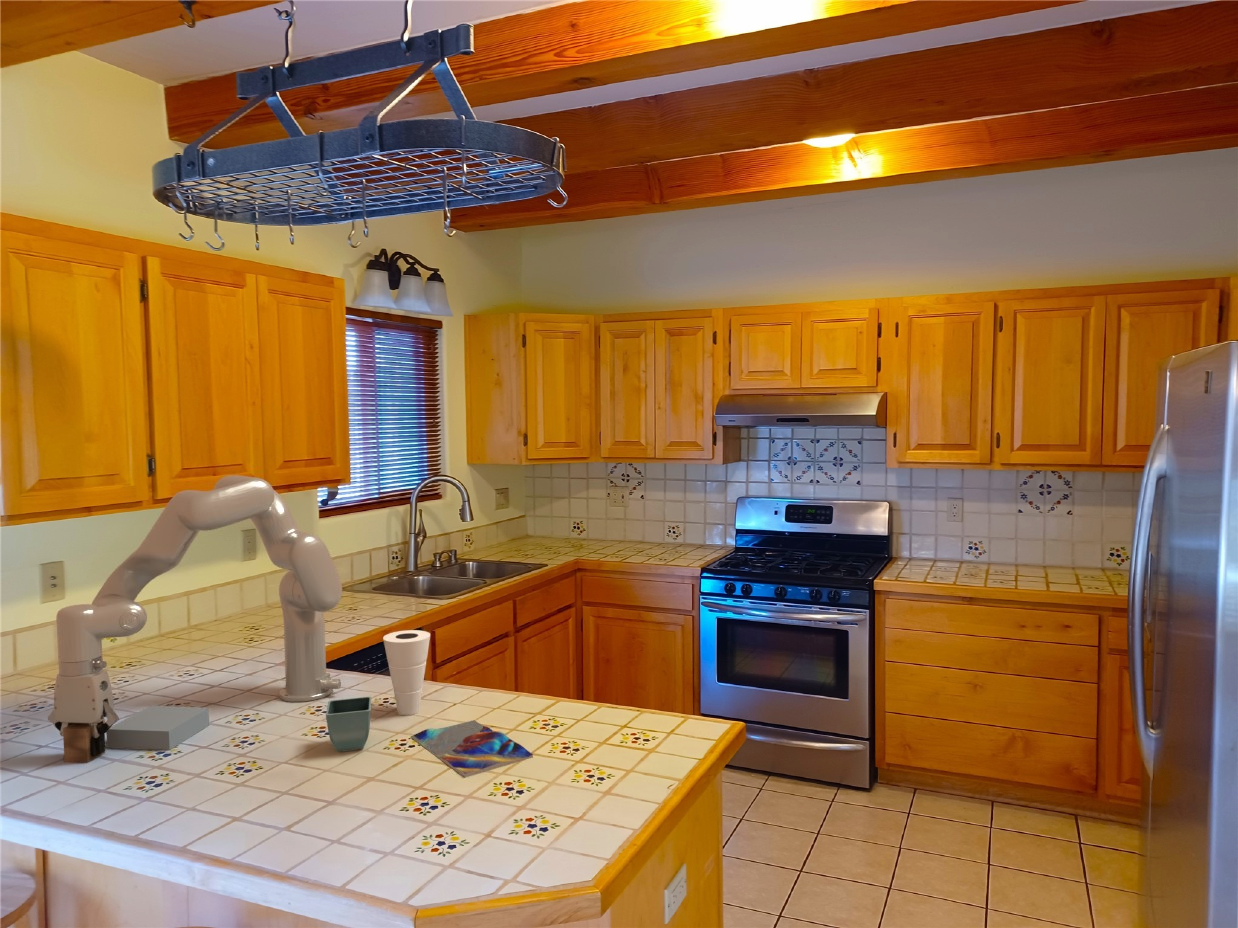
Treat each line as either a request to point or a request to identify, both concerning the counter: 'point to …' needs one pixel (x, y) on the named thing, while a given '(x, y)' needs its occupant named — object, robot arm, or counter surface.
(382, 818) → the counter surface
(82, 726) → the walnut block
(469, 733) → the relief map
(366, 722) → the flower pot
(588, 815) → the counter surface
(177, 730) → the pedestal
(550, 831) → the counter surface
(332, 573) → the robot arm
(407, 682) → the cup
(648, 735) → the counter surface
